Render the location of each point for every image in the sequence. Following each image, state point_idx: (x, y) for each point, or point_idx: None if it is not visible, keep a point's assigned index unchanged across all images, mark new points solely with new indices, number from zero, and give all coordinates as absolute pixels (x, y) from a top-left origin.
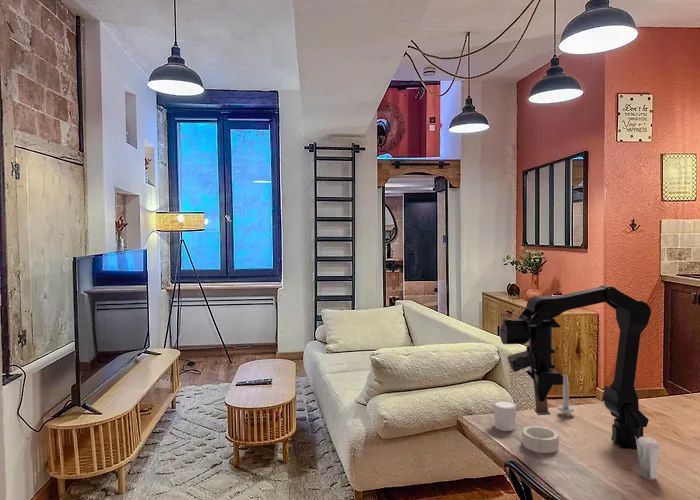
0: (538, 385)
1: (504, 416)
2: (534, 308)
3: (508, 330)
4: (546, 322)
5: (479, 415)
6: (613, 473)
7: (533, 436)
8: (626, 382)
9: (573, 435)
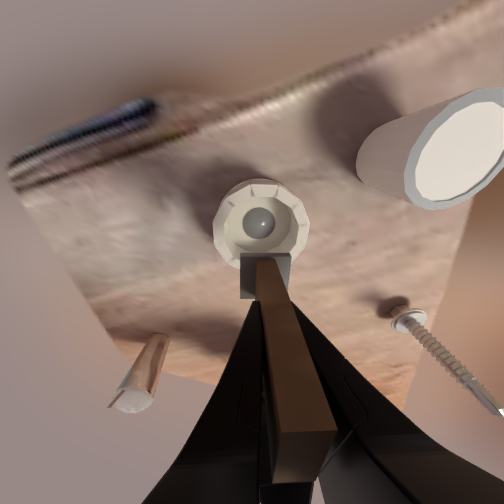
0: (194, 432)
1: (390, 144)
2: None
3: None
4: None
5: None
6: (157, 307)
7: (292, 218)
8: None
9: (304, 296)
